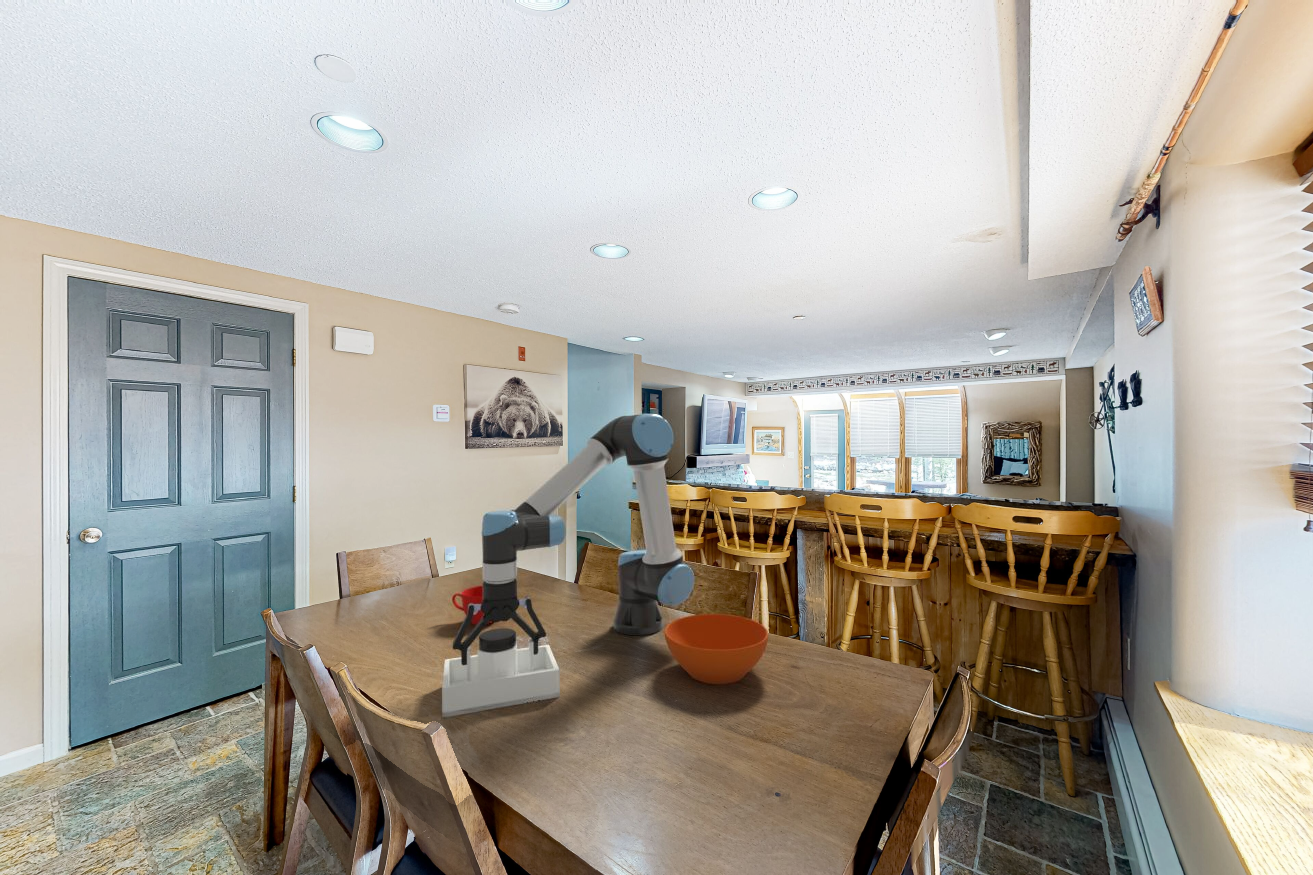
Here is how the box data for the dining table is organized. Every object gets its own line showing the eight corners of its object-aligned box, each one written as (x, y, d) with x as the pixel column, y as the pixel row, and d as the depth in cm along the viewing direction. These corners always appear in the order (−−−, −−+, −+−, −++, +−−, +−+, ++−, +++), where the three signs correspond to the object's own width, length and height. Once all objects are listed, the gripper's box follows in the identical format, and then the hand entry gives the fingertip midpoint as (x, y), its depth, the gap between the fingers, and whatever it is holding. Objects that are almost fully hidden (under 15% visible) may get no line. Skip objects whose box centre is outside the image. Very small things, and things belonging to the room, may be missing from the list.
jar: (483, 700, 111) (483, 644, 111) (472, 686, 118) (472, 633, 118) (523, 688, 116) (523, 634, 116) (511, 675, 123) (510, 625, 123)
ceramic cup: (463, 614, 172) (462, 584, 173) (511, 616, 170) (511, 585, 170) (441, 628, 160) (441, 595, 160) (493, 629, 157) (493, 596, 157)
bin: (549, 668, 129) (548, 644, 129) (559, 696, 114) (559, 669, 114) (445, 685, 121) (445, 659, 121) (442, 717, 106) (442, 688, 106)
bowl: (778, 659, 132) (778, 620, 133) (754, 704, 110) (753, 657, 110) (687, 645, 143) (686, 609, 143) (647, 683, 120) (647, 640, 120)
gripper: (552, 570, 126) (553, 658, 125) (441, 581, 117) (442, 675, 117) (557, 577, 119) (558, 671, 118) (439, 589, 110) (440, 690, 110)
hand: (500, 673), depth 118 cm, fingers open, 13 cm apart
